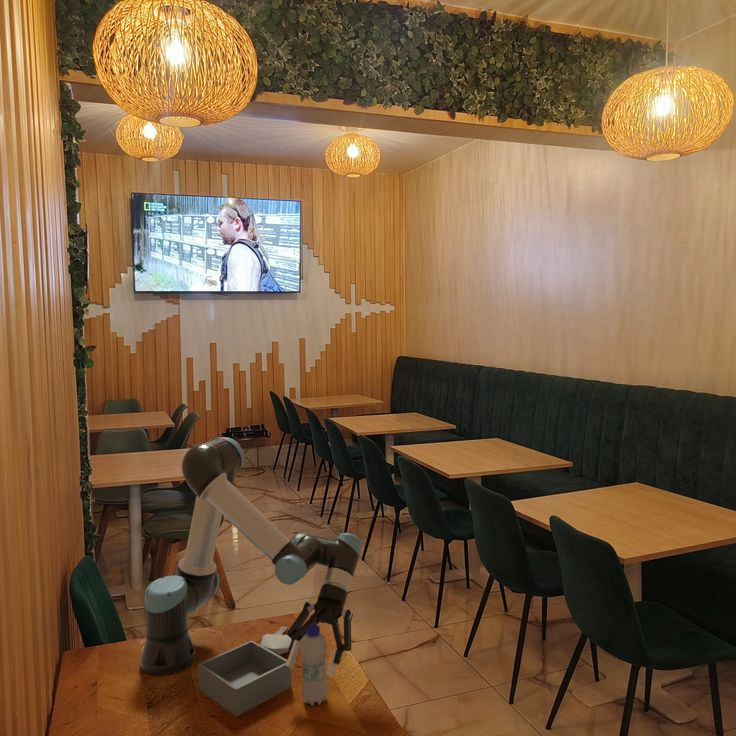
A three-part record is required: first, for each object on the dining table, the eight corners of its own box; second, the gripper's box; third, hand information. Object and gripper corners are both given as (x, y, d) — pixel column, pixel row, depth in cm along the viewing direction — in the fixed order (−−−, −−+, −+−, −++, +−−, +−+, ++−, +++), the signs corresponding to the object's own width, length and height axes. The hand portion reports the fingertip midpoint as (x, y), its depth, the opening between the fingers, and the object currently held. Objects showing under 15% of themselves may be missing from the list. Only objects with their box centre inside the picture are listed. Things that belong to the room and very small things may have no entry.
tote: (198, 689, 171) (197, 664, 170) (252, 663, 183) (251, 640, 183) (236, 716, 159) (235, 689, 158) (291, 687, 171) (290, 662, 171)
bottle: (323, 709, 161) (322, 632, 160) (298, 706, 162) (296, 630, 161) (330, 694, 168) (329, 620, 166) (306, 691, 169) (304, 618, 168)
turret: (306, 637, 204) (306, 622, 204) (289, 660, 184) (289, 643, 184) (276, 635, 205) (276, 620, 205) (256, 657, 185) (256, 641, 186)
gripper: (377, 601, 173) (354, 686, 160) (303, 588, 182) (275, 667, 169) (369, 589, 168) (345, 676, 155) (293, 576, 177) (263, 657, 164)
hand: (308, 671), depth 162 cm, fingers open, 11 cm apart
